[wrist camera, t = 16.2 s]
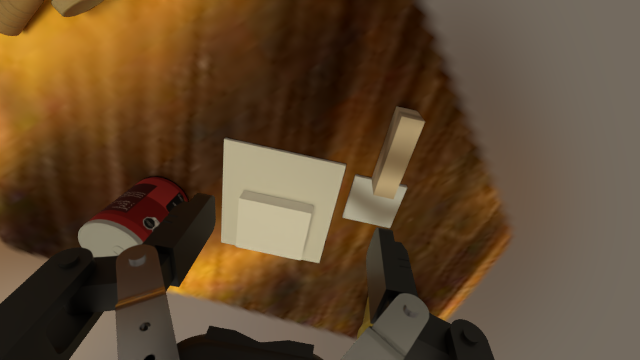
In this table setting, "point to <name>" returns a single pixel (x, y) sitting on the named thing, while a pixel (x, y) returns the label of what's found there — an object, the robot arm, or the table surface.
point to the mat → (280, 187)
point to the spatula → (386, 173)
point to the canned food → (130, 217)
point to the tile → (272, 225)
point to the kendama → (21, 4)
